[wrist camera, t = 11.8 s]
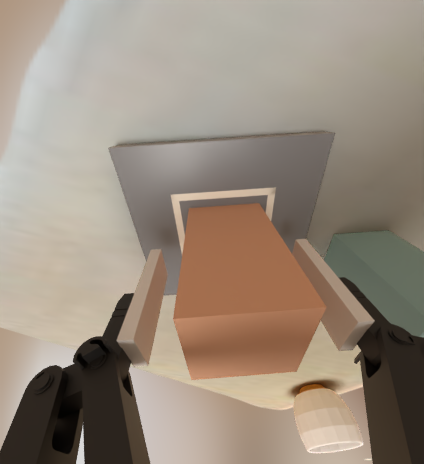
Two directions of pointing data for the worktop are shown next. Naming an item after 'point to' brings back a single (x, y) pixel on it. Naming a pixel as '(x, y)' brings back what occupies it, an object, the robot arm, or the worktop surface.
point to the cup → (325, 421)
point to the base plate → (219, 185)
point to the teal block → (383, 274)
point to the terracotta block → (241, 296)
